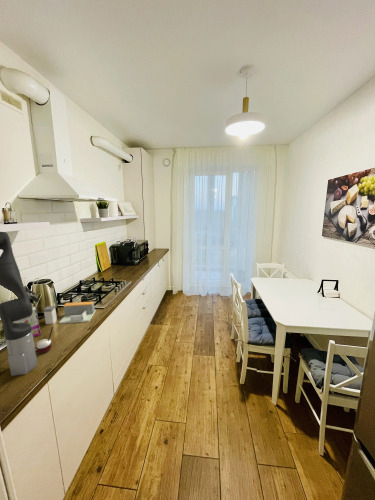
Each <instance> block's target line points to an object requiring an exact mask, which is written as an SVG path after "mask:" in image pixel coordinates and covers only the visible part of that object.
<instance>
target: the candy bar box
mask: <svg viewBox="0 0 375 500" xmlns="http://www.w3.org/2000/svg"><path fill="white" fill-rule="evenodd" d="M32 309H33V313H32V315H31V316H29V317H27V318H24V319H21V320H18V321H14V322H13V323H28V324H30V325H31V328H32V334H33V338H35V337H37V336H38V337H39V336H40V335H41V334H42V333H41V327H40V322H39V317H38V313H37V312H38V311H37V308H36V306H32Z"/></svg>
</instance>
